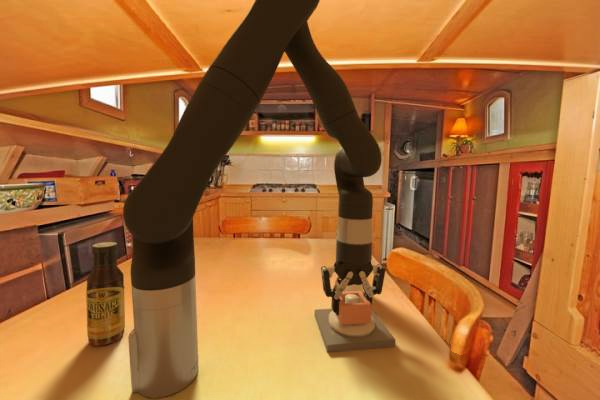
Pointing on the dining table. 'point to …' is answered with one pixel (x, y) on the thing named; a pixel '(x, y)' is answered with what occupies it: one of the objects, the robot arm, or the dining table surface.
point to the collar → (354, 309)
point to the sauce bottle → (105, 296)
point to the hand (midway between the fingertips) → (351, 312)
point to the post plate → (352, 331)
